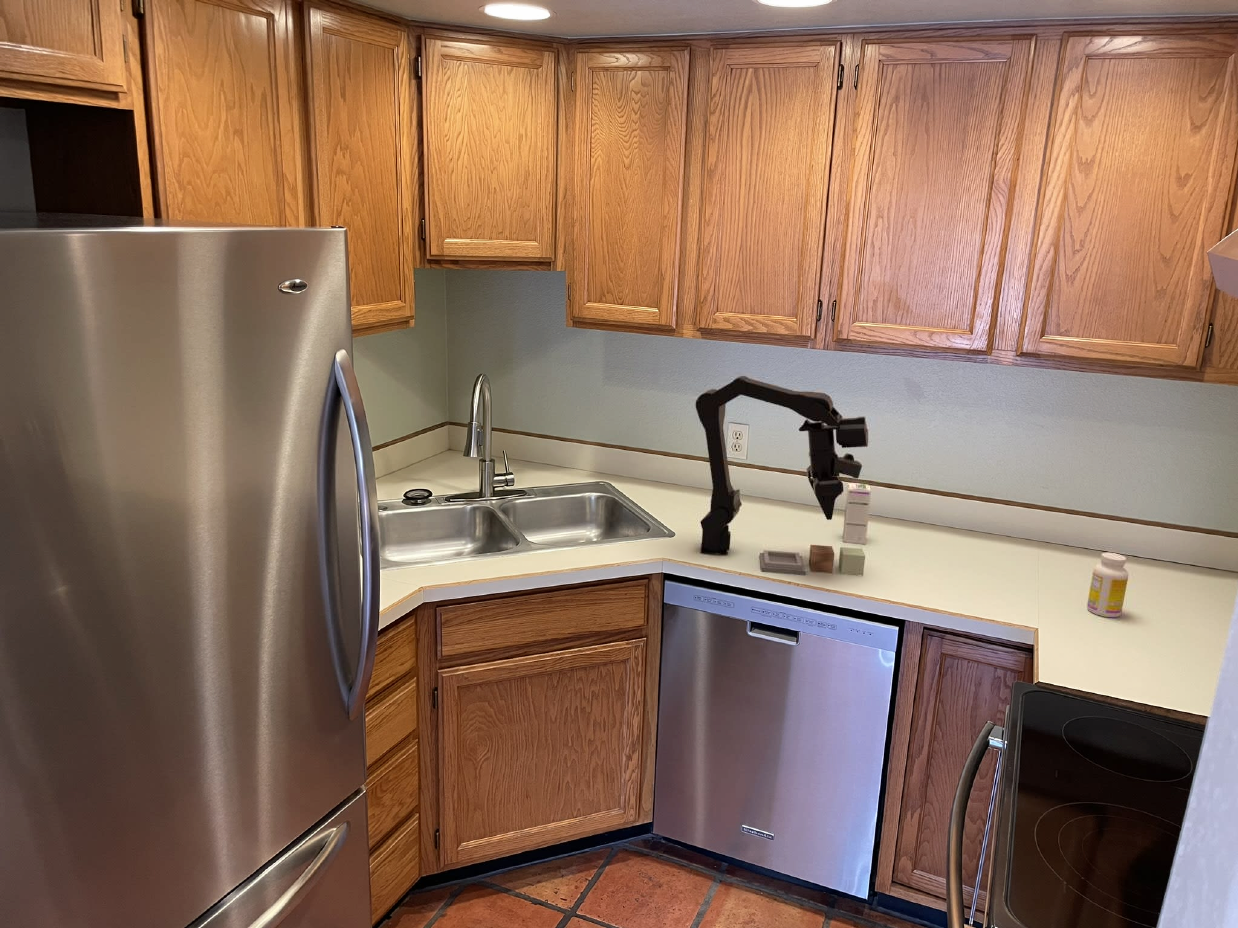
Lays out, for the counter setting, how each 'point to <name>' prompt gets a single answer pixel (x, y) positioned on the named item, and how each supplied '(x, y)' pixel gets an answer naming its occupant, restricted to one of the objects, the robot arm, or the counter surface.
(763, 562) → the base plate
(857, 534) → the syrup box
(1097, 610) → the supplement bottle
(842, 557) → the sage block
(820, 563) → the walnut block
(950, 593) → the counter surface
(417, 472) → the counter surface
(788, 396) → the robot arm
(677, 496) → the counter surface
